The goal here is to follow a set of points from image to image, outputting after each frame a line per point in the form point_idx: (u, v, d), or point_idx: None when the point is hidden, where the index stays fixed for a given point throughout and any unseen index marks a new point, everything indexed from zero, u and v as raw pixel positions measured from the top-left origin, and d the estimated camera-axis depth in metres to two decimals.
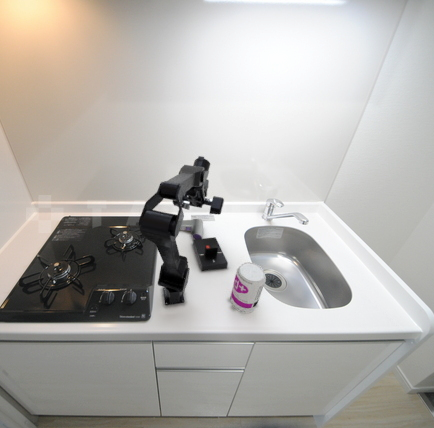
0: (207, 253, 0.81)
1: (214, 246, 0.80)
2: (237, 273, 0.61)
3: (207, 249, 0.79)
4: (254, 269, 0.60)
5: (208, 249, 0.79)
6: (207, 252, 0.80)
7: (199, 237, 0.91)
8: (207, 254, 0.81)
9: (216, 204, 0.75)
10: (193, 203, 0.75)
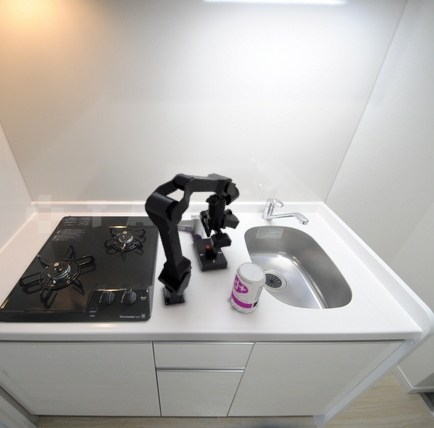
0: (207, 253, 0.81)
1: None
2: (237, 273, 0.61)
3: (207, 249, 0.79)
4: (254, 269, 0.60)
5: (208, 249, 0.79)
6: (207, 252, 0.80)
7: (199, 237, 0.91)
8: (207, 254, 0.81)
9: (219, 236, 0.68)
10: (206, 219, 0.73)
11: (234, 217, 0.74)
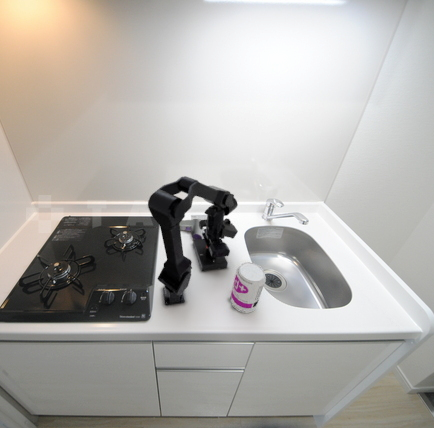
0: (207, 253, 0.81)
1: None
2: (237, 273, 0.61)
3: (207, 249, 0.79)
4: (254, 269, 0.60)
5: None
6: (207, 252, 0.80)
7: (199, 237, 0.91)
8: (207, 254, 0.81)
9: (218, 246, 0.70)
10: (206, 229, 0.75)
11: (232, 227, 0.77)
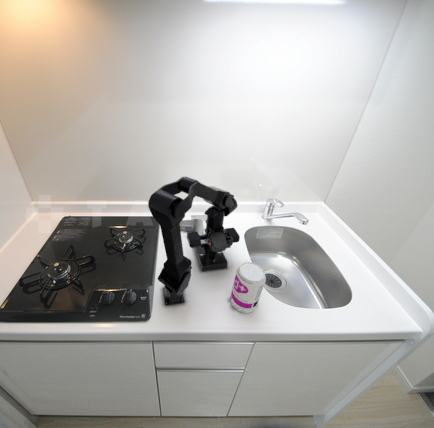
0: None
1: None
2: (237, 273, 0.61)
3: (208, 244, 0.82)
4: (254, 269, 0.60)
5: (208, 245, 0.81)
6: None
7: None
8: None
9: (193, 234, 0.76)
10: None
11: (221, 243, 0.70)
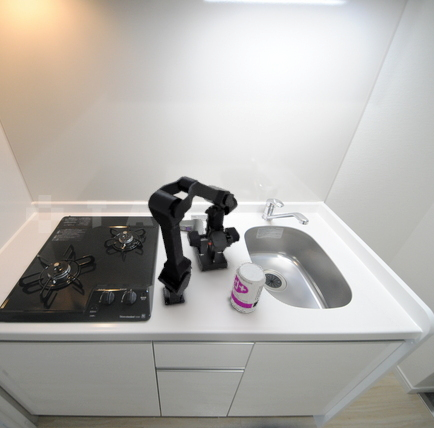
0: (207, 248, 0.83)
1: None
2: (237, 273, 0.61)
3: (208, 244, 0.82)
4: (254, 269, 0.60)
5: (208, 245, 0.81)
6: None
7: None
8: (207, 249, 0.83)
9: (193, 233, 0.76)
10: None
11: (221, 242, 0.69)
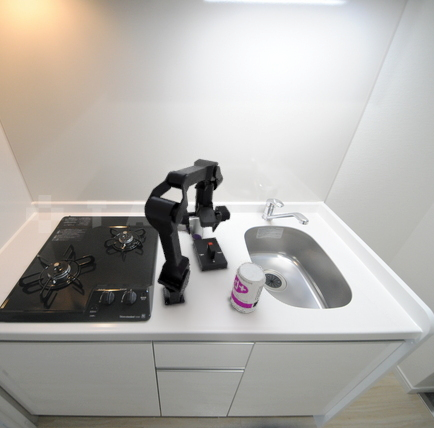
0: (207, 248, 0.83)
1: (212, 248, 0.79)
2: (237, 273, 0.61)
3: (208, 244, 0.82)
4: (254, 269, 0.60)
5: (208, 245, 0.81)
6: None
7: (199, 237, 0.91)
8: (207, 249, 0.83)
9: None
10: None
11: (210, 218, 0.66)
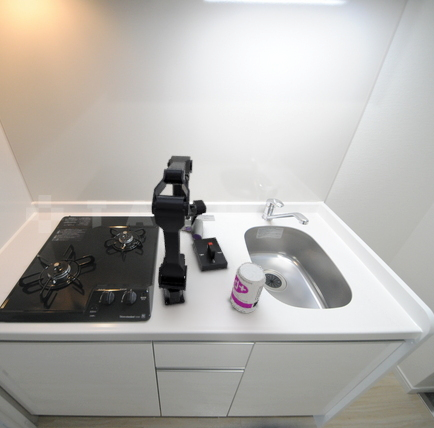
0: (207, 248, 0.83)
1: (212, 248, 0.79)
2: (237, 273, 0.61)
3: (208, 244, 0.82)
4: (254, 269, 0.60)
5: (208, 245, 0.81)
6: None
7: (199, 237, 0.91)
8: (207, 249, 0.83)
9: None
10: None
11: None
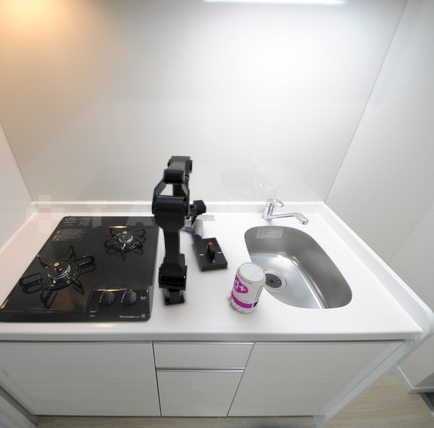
0: (207, 248, 0.83)
1: (212, 248, 0.79)
2: (237, 273, 0.61)
3: (208, 244, 0.82)
4: (254, 269, 0.60)
5: (208, 245, 0.81)
6: None
7: (199, 237, 0.91)
8: (207, 249, 0.83)
9: None
10: None
11: None
